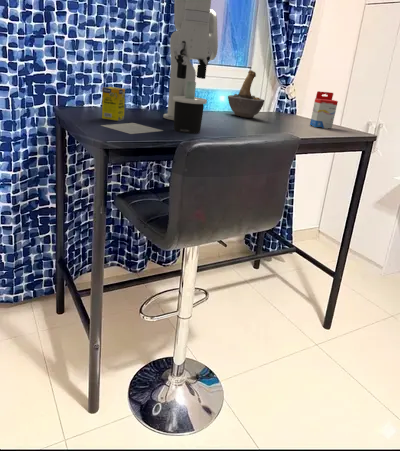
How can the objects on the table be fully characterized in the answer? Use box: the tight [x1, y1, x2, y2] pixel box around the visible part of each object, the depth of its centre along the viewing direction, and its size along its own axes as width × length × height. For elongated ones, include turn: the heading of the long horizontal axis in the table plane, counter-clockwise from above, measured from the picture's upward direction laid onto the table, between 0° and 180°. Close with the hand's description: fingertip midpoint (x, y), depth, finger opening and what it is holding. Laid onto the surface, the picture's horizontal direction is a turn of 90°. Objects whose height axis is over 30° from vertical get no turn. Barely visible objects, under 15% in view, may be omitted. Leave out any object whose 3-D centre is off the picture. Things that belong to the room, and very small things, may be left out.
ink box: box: [309, 91, 339, 129], centre depth 180 cm, size 8×5×15 cm, turn 105°
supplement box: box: [101, 86, 126, 122], centre depth 142 cm, size 6×6×11 cm
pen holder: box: [173, 101, 205, 134], centre depth 136 cm, size 9×9×10 cm
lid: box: [173, 81, 208, 105], centre depth 133 cm, size 11×11×6 cm
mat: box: [100, 122, 164, 135], centre depth 132 cm, size 14×14×1 cm
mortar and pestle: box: [227, 69, 265, 119], centre depth 184 cm, size 15×17×20 cm
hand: (191, 78), depth 132 cm, fingers open, 9 cm apart
